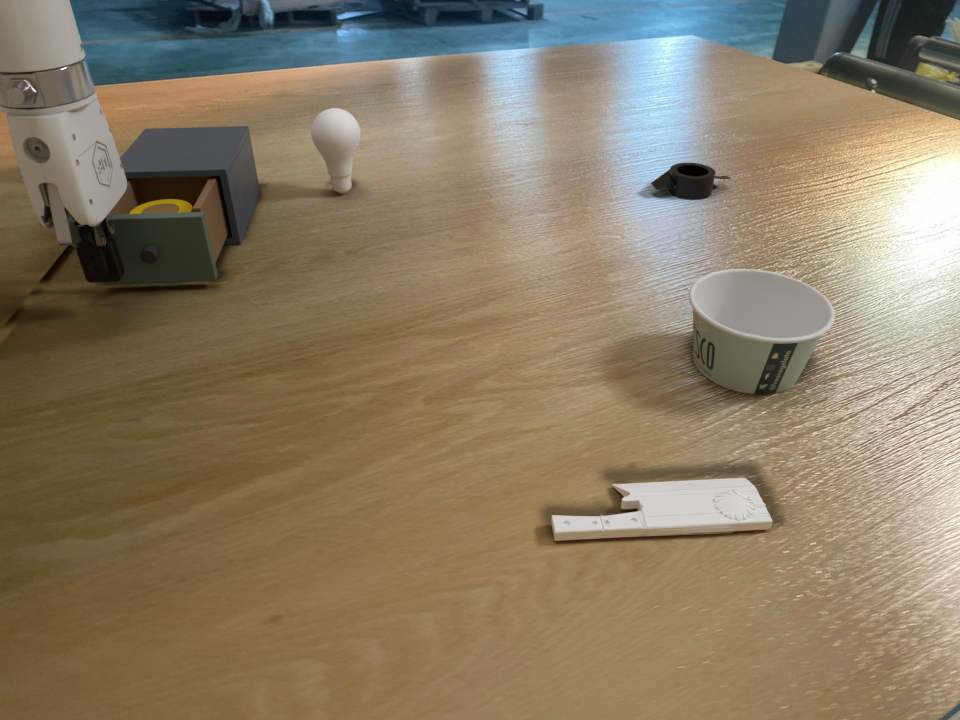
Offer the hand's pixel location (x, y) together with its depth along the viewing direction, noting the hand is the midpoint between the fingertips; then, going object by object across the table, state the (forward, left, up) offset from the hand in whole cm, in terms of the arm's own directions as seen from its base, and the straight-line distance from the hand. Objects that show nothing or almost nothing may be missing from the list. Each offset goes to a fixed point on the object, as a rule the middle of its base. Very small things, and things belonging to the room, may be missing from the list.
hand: (106, 277), depth 74 cm
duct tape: (+66, +25, -4) cm, 71 cm away
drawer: (+3, +10, -3) cm, 11 cm away
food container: (+59, -14, -4) cm, 61 cm away
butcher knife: (+46, -31, -4) cm, 56 cm away
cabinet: (+3, +21, -4) cm, 22 cm away
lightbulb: (+20, +28, -4) cm, 35 cm away
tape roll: (+3, +9, -2) cm, 10 cm away
